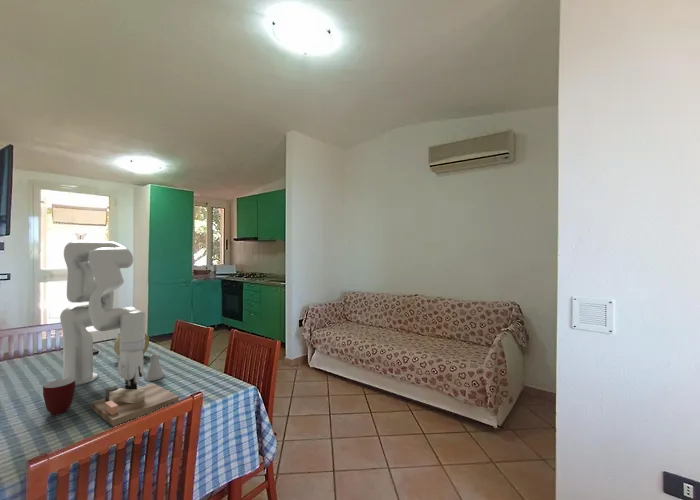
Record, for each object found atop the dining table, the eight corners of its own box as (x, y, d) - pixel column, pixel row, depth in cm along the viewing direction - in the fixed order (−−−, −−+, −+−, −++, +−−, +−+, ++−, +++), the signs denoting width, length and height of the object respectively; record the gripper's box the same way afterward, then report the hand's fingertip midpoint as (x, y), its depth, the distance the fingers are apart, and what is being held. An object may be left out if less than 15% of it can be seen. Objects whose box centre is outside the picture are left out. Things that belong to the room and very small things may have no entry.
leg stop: (104, 409, 106) (104, 402, 106) (111, 407, 108) (111, 400, 108) (111, 415, 103) (111, 407, 103) (118, 412, 104) (118, 405, 104)
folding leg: (102, 400, 112) (102, 390, 112) (111, 396, 116) (111, 386, 116) (136, 404, 110) (136, 393, 110) (145, 399, 113) (145, 388, 113)
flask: (155, 382, 134) (155, 358, 134) (140, 380, 135) (140, 357, 135) (168, 375, 141) (168, 352, 141) (154, 374, 142) (154, 351, 142)
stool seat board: (91, 408, 111) (91, 402, 111) (153, 388, 127) (153, 383, 127) (112, 426, 100) (113, 420, 100) (178, 401, 116) (178, 396, 116)
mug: (38, 412, 109) (38, 382, 109) (69, 402, 115) (69, 375, 115) (46, 421, 103) (46, 390, 103) (78, 411, 109) (78, 381, 109)
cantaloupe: (109, 359, 162) (109, 330, 162) (141, 352, 174) (141, 324, 174) (121, 365, 153) (121, 334, 154) (154, 357, 165) (154, 328, 166)
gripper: (111, 343, 117) (110, 392, 118) (129, 352, 109) (127, 406, 109) (135, 338, 123) (133, 385, 124) (152, 347, 115) (151, 397, 115)
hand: (130, 395), depth 116 cm, fingers closed
